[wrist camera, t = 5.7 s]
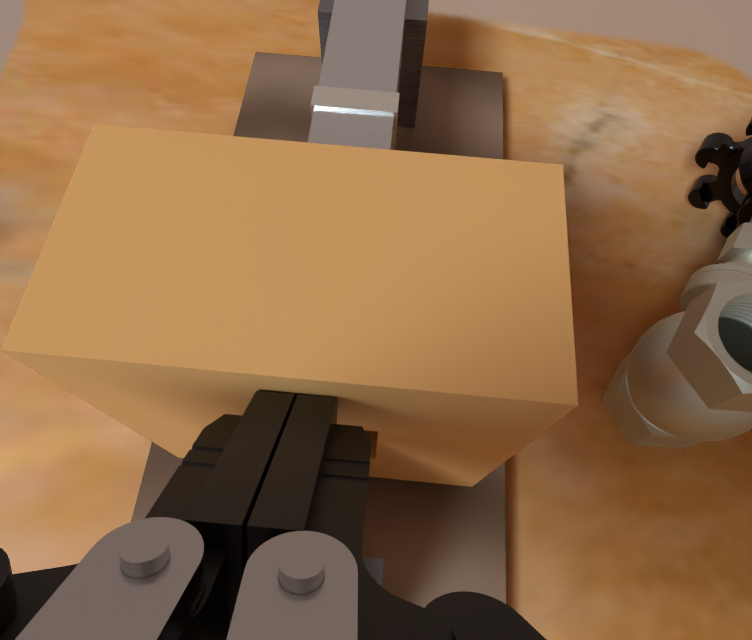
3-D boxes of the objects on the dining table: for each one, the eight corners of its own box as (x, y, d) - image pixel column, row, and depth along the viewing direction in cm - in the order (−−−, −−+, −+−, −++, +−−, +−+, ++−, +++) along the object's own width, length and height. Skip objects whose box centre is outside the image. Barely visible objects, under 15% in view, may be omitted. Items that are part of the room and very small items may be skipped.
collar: (472, 486, 18) (578, 405, 9) (178, 457, 18) (0, 350, 9) (474, 344, 20) (562, 164, 11) (212, 319, 20) (93, 123, 11)
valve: (716, 502, 19) (808, 260, 23) (877, 472, 13) (962, 153, 17) (547, 400, 21) (663, 189, 25) (623, 330, 15) (759, 68, 19)
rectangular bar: (369, 674, 16) (372, 739, 10) (232, 659, 16) (153, 714, 10) (418, 80, 26) (434, -68, 20) (335, 73, 26) (326, -76, 20)
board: (498, 722, 16) (507, 732, 15) (102, 679, 16) (86, 686, 15) (497, 89, 27) (503, 71, 26) (259, 69, 27) (255, 50, 26)
